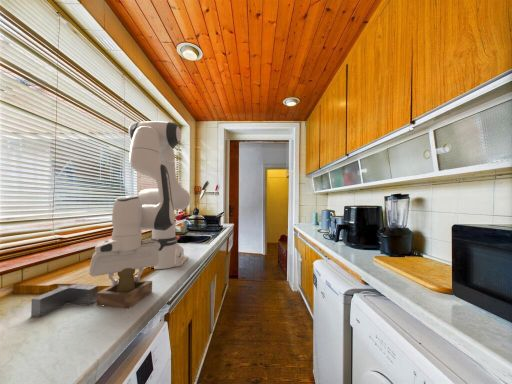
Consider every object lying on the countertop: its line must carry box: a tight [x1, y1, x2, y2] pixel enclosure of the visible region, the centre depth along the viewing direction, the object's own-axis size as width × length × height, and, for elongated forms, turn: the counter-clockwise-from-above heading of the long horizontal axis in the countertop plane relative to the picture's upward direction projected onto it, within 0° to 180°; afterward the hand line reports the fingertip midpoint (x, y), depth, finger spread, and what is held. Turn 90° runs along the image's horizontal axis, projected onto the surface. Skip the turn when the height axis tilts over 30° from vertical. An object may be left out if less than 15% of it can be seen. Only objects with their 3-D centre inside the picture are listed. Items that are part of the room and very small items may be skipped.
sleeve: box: [95, 279, 153, 309], centre depth 73 cm, size 12×12×4 cm
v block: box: [30, 283, 99, 318], centre depth 68 cm, size 8×16×5 cm, turn 126°
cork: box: [117, 268, 136, 293], centre depth 73 cm, size 6×6×11 cm
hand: (126, 283), depth 73 cm, fingers open, 5 cm apart
